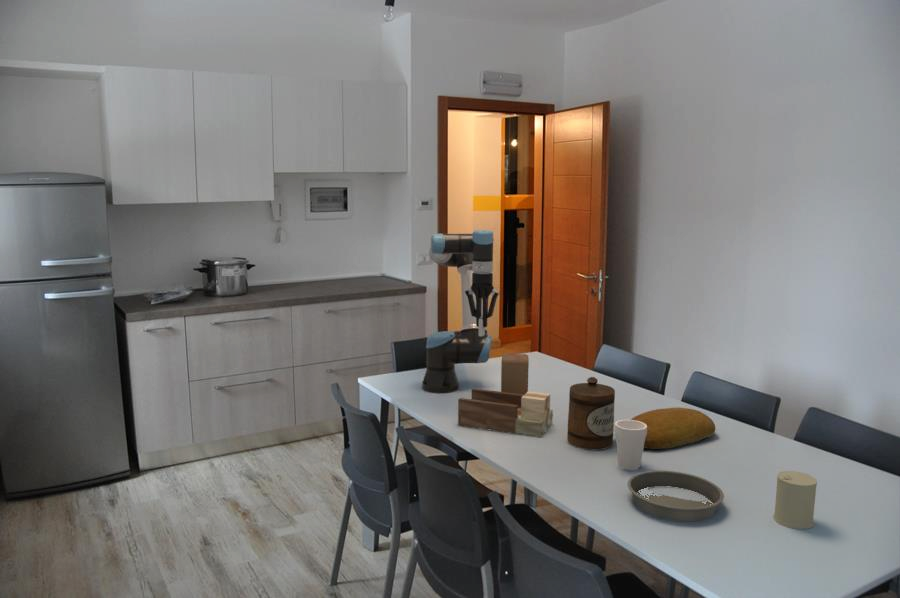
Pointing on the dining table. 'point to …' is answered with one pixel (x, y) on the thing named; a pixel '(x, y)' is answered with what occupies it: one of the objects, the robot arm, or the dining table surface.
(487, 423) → the chute
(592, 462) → the dining table surface
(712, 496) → the cake pan
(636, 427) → the foam cup
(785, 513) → the can
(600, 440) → the wooden container
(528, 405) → the birch block
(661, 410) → the bread
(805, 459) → the dining table surface
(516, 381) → the wooden block
